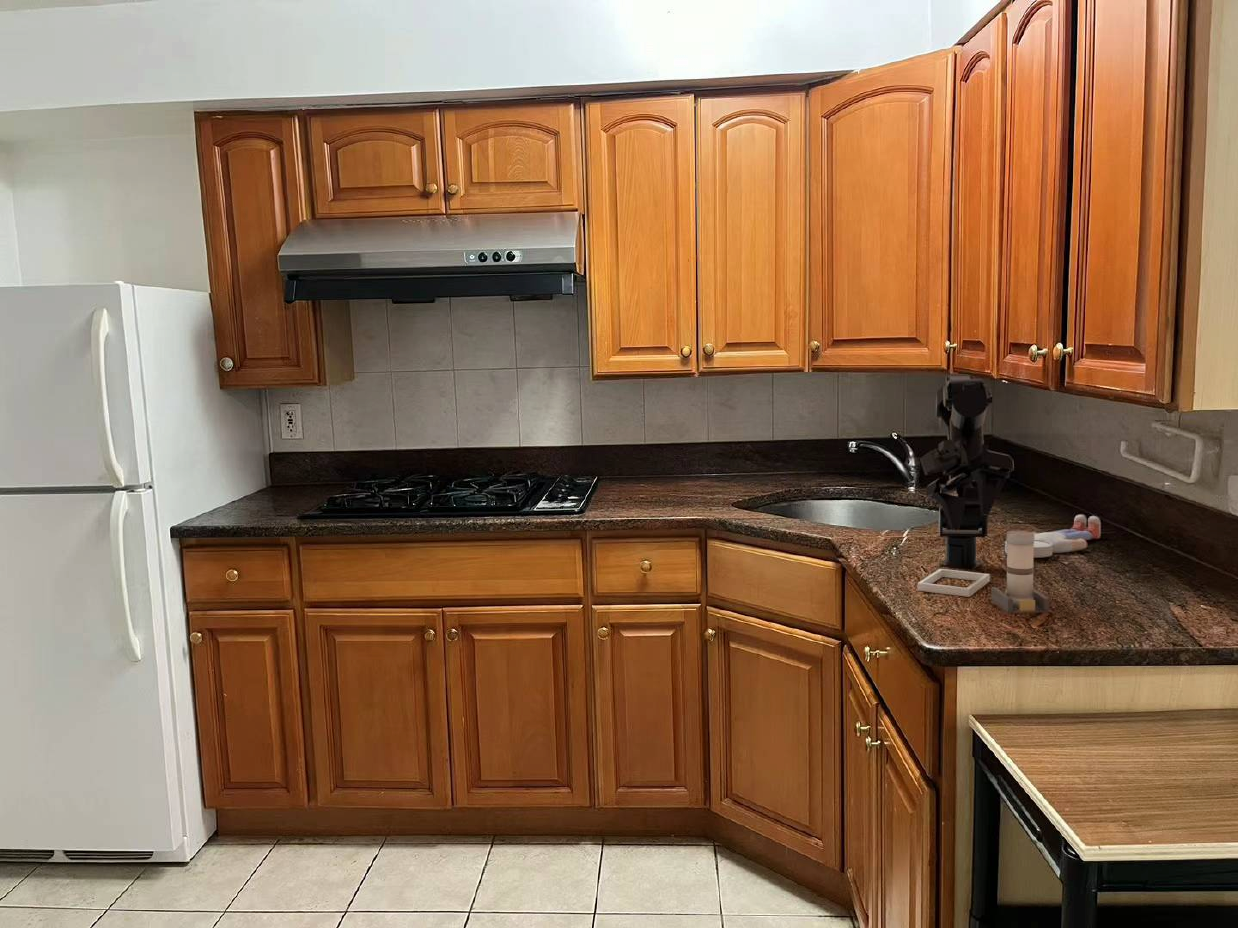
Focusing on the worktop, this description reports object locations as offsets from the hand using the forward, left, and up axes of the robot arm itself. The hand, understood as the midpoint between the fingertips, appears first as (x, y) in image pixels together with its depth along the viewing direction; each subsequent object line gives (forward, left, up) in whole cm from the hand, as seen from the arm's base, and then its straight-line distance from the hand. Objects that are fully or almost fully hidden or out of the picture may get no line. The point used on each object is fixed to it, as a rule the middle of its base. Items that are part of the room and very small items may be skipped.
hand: (969, 522), depth 170 cm
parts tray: (0, -3, -13) cm, 13 cm away
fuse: (+7, +10, -12) cm, 17 cm away
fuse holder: (+7, +10, -13) cm, 18 cm away
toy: (-45, +4, -14) cm, 47 cm away
